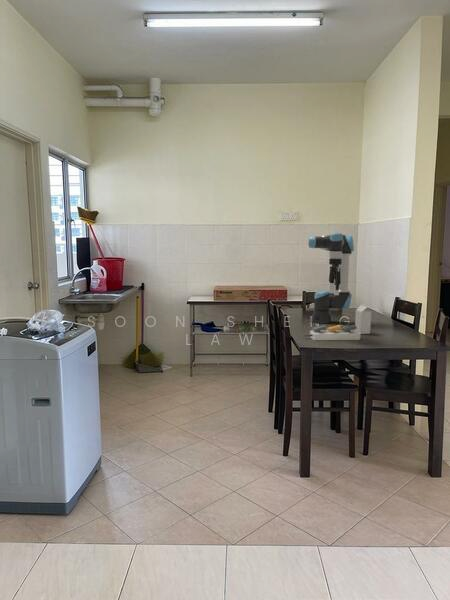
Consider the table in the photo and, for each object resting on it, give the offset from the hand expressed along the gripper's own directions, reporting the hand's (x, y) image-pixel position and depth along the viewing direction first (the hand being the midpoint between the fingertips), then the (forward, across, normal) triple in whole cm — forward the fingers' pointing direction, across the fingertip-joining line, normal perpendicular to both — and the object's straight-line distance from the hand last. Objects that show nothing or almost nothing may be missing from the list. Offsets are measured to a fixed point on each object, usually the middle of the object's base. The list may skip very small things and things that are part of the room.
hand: (334, 294), depth 273 cm
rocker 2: (+21, +3, +10) cm, 24 cm away
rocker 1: (+21, +3, -10) cm, 24 cm away
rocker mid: (+21, +3, 0) cm, 22 cm away
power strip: (+27, +5, -3) cm, 28 cm away
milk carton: (+28, -10, +24) cm, 38 cm away
